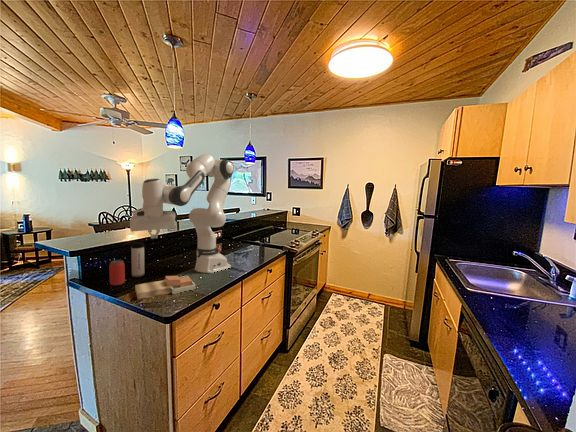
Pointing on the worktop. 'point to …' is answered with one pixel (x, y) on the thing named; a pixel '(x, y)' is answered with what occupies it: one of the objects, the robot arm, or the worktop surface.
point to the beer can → (117, 272)
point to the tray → (176, 289)
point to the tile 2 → (185, 282)
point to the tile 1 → (172, 280)
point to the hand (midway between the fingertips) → (154, 238)
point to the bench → (152, 289)
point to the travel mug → (137, 258)
